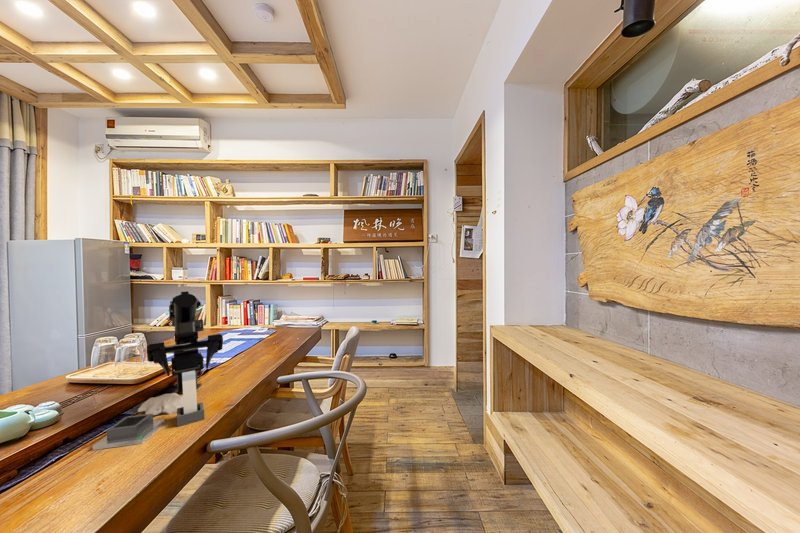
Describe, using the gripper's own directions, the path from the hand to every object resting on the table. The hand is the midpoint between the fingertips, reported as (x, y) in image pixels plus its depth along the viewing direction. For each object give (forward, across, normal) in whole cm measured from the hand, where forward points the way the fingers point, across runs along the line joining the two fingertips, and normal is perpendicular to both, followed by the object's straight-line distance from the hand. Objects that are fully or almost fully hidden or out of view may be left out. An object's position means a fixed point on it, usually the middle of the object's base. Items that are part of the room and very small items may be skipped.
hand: (188, 371), depth 89 cm
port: (+12, -12, +4) cm, 18 cm away
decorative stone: (+3, -5, +14) cm, 16 cm away
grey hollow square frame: (+12, 0, +5) cm, 13 cm away
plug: (+12, 0, +5) cm, 13 cm away
